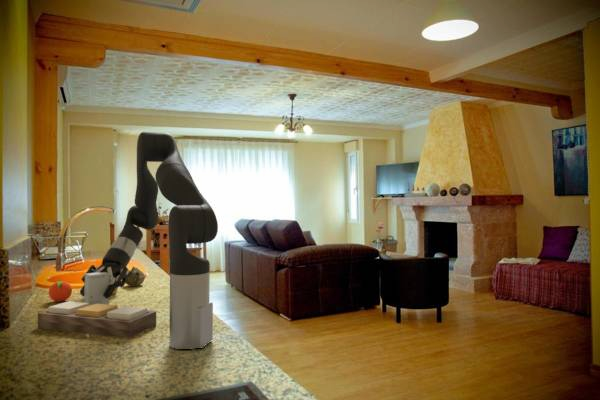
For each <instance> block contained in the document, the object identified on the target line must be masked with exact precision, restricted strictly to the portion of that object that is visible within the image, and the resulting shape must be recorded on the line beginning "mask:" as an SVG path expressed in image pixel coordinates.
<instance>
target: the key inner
mask: <svg viewBox="0 0 600 400" xmlns="http://www.w3.org/2000/svg"><path fill="white" fill-rule="evenodd" d="M117 308H118V309H115V310H112V311H110V312H107V318H112V319H122V320H132V319H135V318H137V317H140V316H142V315H145V314H147V311H148V307H141V306H129V305H128V306H127V305H124V306H121V307H117Z"/></svg>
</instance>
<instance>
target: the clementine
mask: <svg viewBox="0 0 600 400" xmlns="http://www.w3.org/2000/svg"><path fill="white" fill-rule="evenodd" d="M72 293H73V288H72V285H71V283H69V282H67V281H64V280H60V281H56V282H54V283H52V285H50V287H49V289H48V296H49V298H50V299H51V300H52V301H54V302H56V303H57V302H58V303H63V302H65V301H67V300H68V299H69V298H70V297H71V296H72Z"/></svg>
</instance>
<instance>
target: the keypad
mask: <svg viewBox="0 0 600 400" xmlns="http://www.w3.org/2000/svg"><path fill="white" fill-rule="evenodd" d="M89 306H90V305H89ZM118 308H119V307H117V309H118ZM154 326H155V327H156V326H157V311H156V310H147V314H145V315H142V316H140V317H137V318H135V319H132V320H122V319H112V318H107V315H104V316H101V317H91V316H81V315H77V312H75V313H72V314H60V313H50V312H49V309H48V310H45V311H40V312H37V329H42V330H52V331H61V332H62V331H63V332H69V333H78V334H79V333H80V334H87V335H88V334H89V335H96V336H97V335H98V336H108V337H114V338H122V339H131V338H133V337H135V335H136V336H138V335H139V333H140V334H142V333H144V332H146V331H148V330H151V329H152V327H153V328H154ZM147 329H148V330H147ZM145 330H146V331H145ZM143 331H144V332H143ZM141 332H142V333H141ZM137 334H138V335H137Z"/></svg>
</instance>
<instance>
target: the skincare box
mask: <svg viewBox="0 0 600 400" xmlns="http://www.w3.org/2000/svg"><path fill="white" fill-rule="evenodd" d="M84 275H85V283H84V284H85V289H84V296H83V297H84V303H89V305H94V304H107V305H110V304H109V303H110V301H109V298H110V297H109V298H105V297H104V296H103V294H104V292H105V290H106V289H107V287H108V285H109V273H106V272H97V273H84Z"/></svg>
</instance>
